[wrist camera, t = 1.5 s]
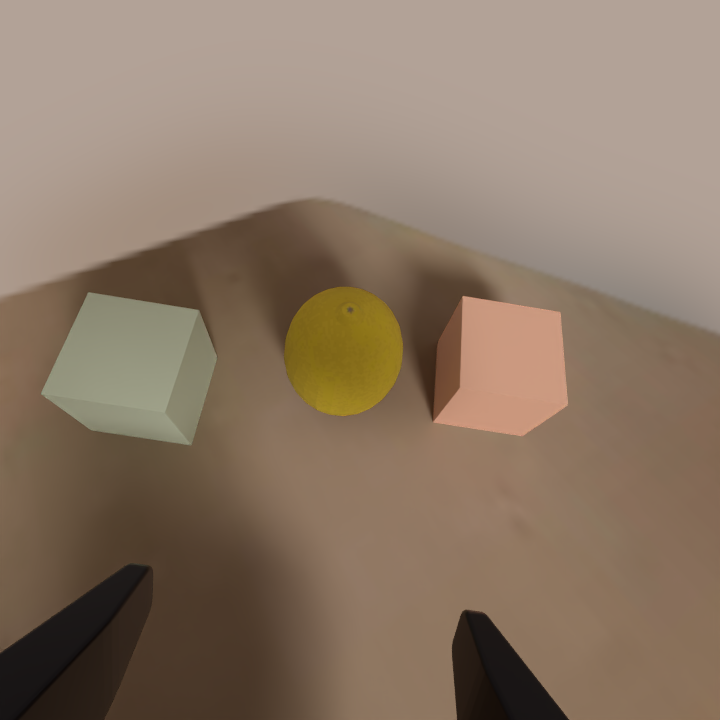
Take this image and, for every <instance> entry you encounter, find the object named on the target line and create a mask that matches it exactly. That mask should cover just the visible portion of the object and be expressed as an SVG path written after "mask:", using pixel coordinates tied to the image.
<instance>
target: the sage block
mask: <svg viewBox="0 0 720 720" xmlns="http://www.w3.org/2000/svg"><path fill="white" fill-rule="evenodd" d="M216 361H217V355H216V353H215V350H214V347H213V345H212V342H211V340H210V337H209V334H208V332H207V329H206V327H205V324H204V322H203V319H202V316H201V314H200V311H199V310H196V309H190V308H183V307H177V306H171V305H165V304H158V303H152V302H146V301H140V300H134V299H127V298H121V297H115V296H109V295H103V294H96V293H90V292H88V294H87V296H86V298H85V301H84V303H83V305H82V307H81V309H80V311H79V313H78V315H77V318H76V320H75V322H74V324H73V326H72V328H71V330H70V333H69V335H68V337H67V339H66V341H65V343H64V345H63V347H62V350H61V352H60V354H59V356H58V358H57V360H56V362H55V365H54V367H53V369H52V371H51V373H50V375H49V377H48V380H47V382H46V384H45V386H44V388H43V390H42V392H41V394H42V395H43V396H44V397H46V398H47V399H49V400H50V401H51V402H53V403H54V404H55V405H57V406H58V407H60V408H61V409H62V410H64V411H65V412H67V413H68V414H69V415H71V416H72V417H73V418H75V419H76V420H78V421H79V422H80V423H82V424H83V425H84V426H86V427H87V428H89V429H90V430H92V431H99V432H105V433H112V434H119V435H125V436H132V437H139V438H145V439H152V440H159V441H165V442H172V443H179V444H185V445H192V442H193V439H194V435H195V432H196V429H197V425H198V422H199V418H200V415H201V412H202V408H203V405H204V401H205V398H206V395H207V391H208V388H209V384H210V381H211V378H212V374H213V371H214V367H215V364H216Z"/></svg>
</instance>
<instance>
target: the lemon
mask: <svg viewBox="0 0 720 720" xmlns="http://www.w3.org/2000/svg"><path fill="white" fill-rule="evenodd" d="M402 354H403V342H402V336H401V331H400V327H399V324H398V322H397V320H396V318H395V316H394V314H393V312H392V311H391V310H390V308H389V307H388V306H387V305H386V304H385V303H384V302H383V301H382V300H381V299H379V298H378V297H377V296H375V295H374V294H372V293H370V292H368V291H365V290H363V289H359V288H354V287H336V288H331V289H327V290H325V291H322V292H320V293H318V294H316V295H314V296H313V297H312V298H310V299H309V300H308V301H307V302H305V303H304V304H303V305H302V307H301V308H300V309H299V311H298V312H297V313H296V315H295V316H294V318H293V320H292V322H291V325H290V327H289V330H288V333H287V336H286V340H285V351H284V361H285V366H286V370H287V375H288V378H289V380H290V382H291V384H292V385H293V387H294V389H295V391H296V392H297V394H298V395H299V396H300V397H301V398H302V399H303V400H304V401H305V402H306V403H307V404H309V405H310V406H312V407H313V408H315V409H316V410H318V411H321V412H324V413H327V414H330V415H339V416H347V415H354V414H358V413H361V412H363V411H365V410H368V409H370V408H372V407H373V406H374V405H376V404H377V403H378V402H380V401H381V400H382V399H383V398H384V397H385V396H386V395H387V393H388V392H389V391H390V389H391V388H392V387H393V385H394V384H395V381H396V379H397V376H398V374H399V371H400V368H401V364H402Z"/></svg>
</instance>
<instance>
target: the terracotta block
mask: <svg viewBox="0 0 720 720" xmlns="http://www.w3.org/2000/svg"><path fill="white" fill-rule="evenodd" d="M567 405H568V400H567V388H566V376H565V363H564V351H563V339H562V327H561V314H560V312H556V311H550V310H544V309H538V308H532V307H526V306H520V305H514V304H508V303H502V302H496V301H490V300H484V299H478V298H472V297H466V296H462V298H461V300H460V302H459V304H458V306H457V307H456V309H455V311H454V313H453V315H452V317H451V318H450V320H449V322H448V324H447V326H446V328H445V329H444V331H443V333H442V335H441V337H440V339H439V340H438V342H437V360H436V378H435V395H434V413H433V422H434V423H441V424H447V425H454V426H460V427H467V428H473V429H479V430H486V431H492V432H499V433H505V434H512V435H518V436H523V435H525V434H526V433H528V432H529V431H531V430H532V429H534V428H535V427H537V426H538V425H539V424H541V423H542V422H544V421H545V420H547V419H548V418H550V417H551V416H553V415H554V414H555V413H557V412H558V411H560V410H561V409H563V408H564V407H566V406H567Z"/></svg>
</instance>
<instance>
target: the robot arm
mask: <svg viewBox="0 0 720 720" xmlns="http://www.w3.org/2000/svg"><path fill="white" fill-rule="evenodd" d="M152 593H153V569H152V567H151V566H149V565H142V564H135V563H131V564H128V565H126V566H124V567H123V568H122V569H120V570H119V571H117V572H116V573H114V574H113V575H112V576H110V577H109V578H107V579H106V580H104V581H103V582H101V583H100V584H99V585H97V586H96V587H94V588H93V589H91V590H90V591H89V592H87V593H86V594H84V595H83V596H81V597H80V598H78V599H77V600H76V601H74V602H73V603H71V604H70V605H68V606H67V607H66V608H64V609H63V610H61V611H60V612H58V613H57V614H56V615H54V616H53V617H51V618H50V619H48V620H47V621H45V622H44V623H43V624H41V625H40V626H38V627H37V628H35V629H34V630H33V631H31V632H30V633H28V634H27V635H25V636H24V637H22V638H21V639H20V640H18V641H17V642H15V643H14V644H12V645H11V646H10V647H8V648H7V649H5V650H4V651H2V652H1V653H0V720H104V718H105V716H106V714H107V712H108V710H109V708H110V706H111V704H112V702H113V700H114V697H115V695H116V693H117V690H118V688H119V686H120V683H121V681H122V678H123V676H124V673H125V671H126V668H127V666H128V663H129V661H130V659H131V656H132V654H133V651H134V649H135V646H136V644H137V641H138V639H139V636H140V634H141V632H142V629H143V627H144V624H145V622H146V619H147V617H148V614H149V612H150V608H151V604H152ZM452 661H453V673H454V686H455V698H456V711H457V720H569V719H568V718H567V716H566V715H565V714H564V713H563V711H562V710H561V709H560V708H559V706H558V705H557V704H556V702H555V701H554V700H553V699H552V697H551V696H550V695H549V694H548V692H547V691H546V690H545V688H544V687H543V686H542V685H541V683H540V682H539V681H538V680H537V678H536V677H535V676H534V674H533V673H532V672H531V671H530V669H529V668H528V667H527V666H526V664H525V663H524V662H523V660H522V659H521V658H520V657H519V655H518V654H517V653H516V652H515V650H514V649H513V648H512V646H511V645H510V644H509V643H508V641H507V640H506V639H505V637H504V636H503V635H502V634H501V632H500V631H499V630H498V629H497V627H496V626H495V625H494V623H493V622H492V621H491V620H490V618H489V617H488V616H487V615H486V614H485V613H483V612H479V611H472V610H464V611H463V612H462V614H461V616H460V619H459V622H458V626H457V629H456V632H455V636H454V639H453V644H452Z"/></svg>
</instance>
